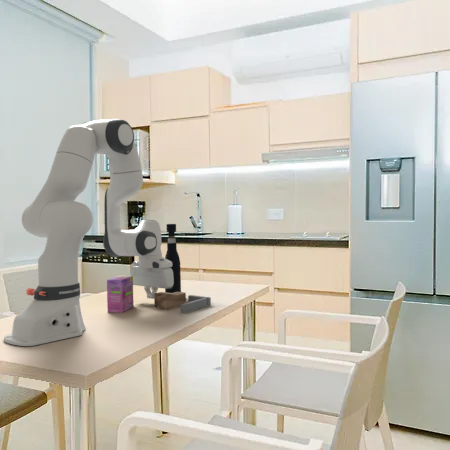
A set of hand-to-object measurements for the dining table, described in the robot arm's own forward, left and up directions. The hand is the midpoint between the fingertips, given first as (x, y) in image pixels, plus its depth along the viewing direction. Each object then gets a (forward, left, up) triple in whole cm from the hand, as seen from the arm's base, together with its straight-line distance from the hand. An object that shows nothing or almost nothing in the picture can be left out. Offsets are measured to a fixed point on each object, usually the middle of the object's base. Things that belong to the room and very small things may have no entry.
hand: (151, 298), depth 172 cm
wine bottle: (+13, +1, -2) cm, 13 cm away
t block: (0, -8, -2) cm, 8 cm away
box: (-13, +3, -2) cm, 13 cm away
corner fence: (+1, -17, -2) cm, 17 cm away
